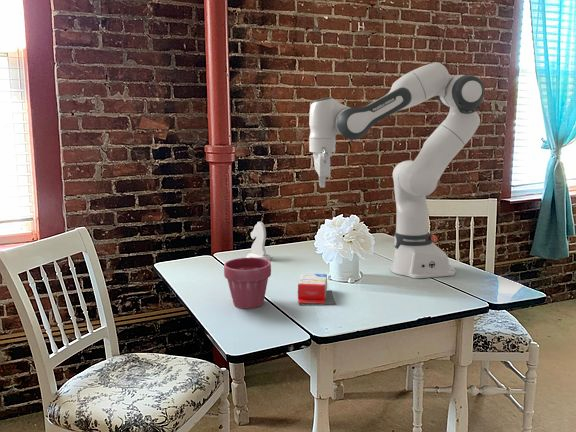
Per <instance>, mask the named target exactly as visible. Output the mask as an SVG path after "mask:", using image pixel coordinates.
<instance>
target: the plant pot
mask: <svg viewBox="0 0 576 432" xmlns="http://www.w3.org/2000/svg"><path fill="white" fill-rule="evenodd" d="M271 275H272V265H271V260H269V261H268V260H266V259H262V258H246V257H239V258H233V259H230V260H228V261H226V262H225V263H224V265H223V276H224V278H225V279H226V280H227V283H228V287H229V291H230V295H231V299H232V303H233V305H234V306H235V307H237V308H241V309H256V308H259V307H261V306H263V304H264V303H265V296H266V293H267V292H266V290H267V285H268V280H269V278H270V277H271Z"/></svg>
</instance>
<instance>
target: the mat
mask: <svg viewBox="0 0 576 432" xmlns="http://www.w3.org/2000/svg"><path fill="white" fill-rule="evenodd" d="M310 302H313V301H310ZM314 302H315V301H314ZM334 304H336V305H337V303H336V299H335V295H334V293H333V290H328V289H327V292H326V299H325V301H324V303H298V305H299V306H331V305H332V306H334Z"/></svg>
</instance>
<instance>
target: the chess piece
mask: <svg viewBox="0 0 576 432" xmlns="http://www.w3.org/2000/svg"><path fill="white" fill-rule="evenodd" d="M265 226H266V225H265V223H263V222H262V221H257V223H256V224H255V225H254V228H253V229H252V231H251V232H250V237H251V239H252V240H254V239H255V240H254V241H253V242H252V244H251V248H250V251H251V252H249V253H247V255H246V257H245V258H262V259H266V260H268V261H271V260H272V257H271V255H270V254H269V253H268V252H267V251H266V248H265V244H266V238H267V231H266V230H267V229H266V227H265Z"/></svg>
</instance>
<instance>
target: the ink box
mask: <svg viewBox="0 0 576 432" xmlns="http://www.w3.org/2000/svg"><path fill="white" fill-rule="evenodd" d="M327 290H328V275H327V273H301V274H300V278H299V281H298V284H297V303H298V304H299V303H324V301H325V299H326V292H327ZM310 301H313V302H310ZM314 301H315V302H314Z"/></svg>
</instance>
